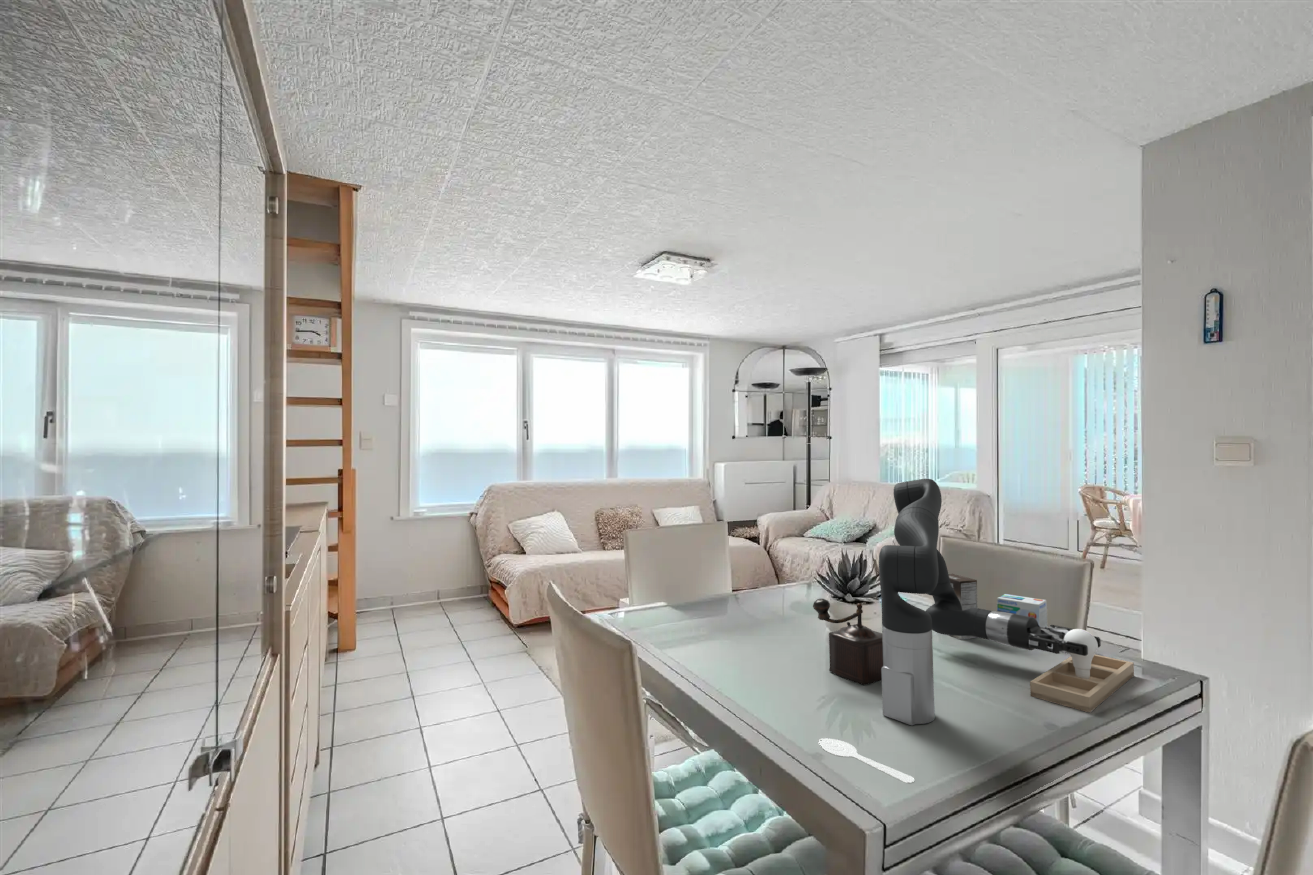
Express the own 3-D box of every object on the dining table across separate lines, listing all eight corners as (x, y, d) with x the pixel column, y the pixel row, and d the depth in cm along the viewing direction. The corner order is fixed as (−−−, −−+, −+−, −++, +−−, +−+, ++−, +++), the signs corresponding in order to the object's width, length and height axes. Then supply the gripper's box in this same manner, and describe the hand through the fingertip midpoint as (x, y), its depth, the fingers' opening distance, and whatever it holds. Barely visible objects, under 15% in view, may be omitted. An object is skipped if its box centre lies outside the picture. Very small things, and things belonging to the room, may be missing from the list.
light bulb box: (996, 636, 165) (995, 597, 165) (1005, 631, 169) (1004, 593, 170) (1041, 645, 157) (1039, 604, 157) (1048, 639, 161) (1047, 599, 162)
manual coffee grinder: (856, 662, 147) (854, 589, 147) (894, 676, 137) (892, 598, 138) (810, 675, 139) (808, 598, 139) (848, 691, 129) (845, 608, 130)
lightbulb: (1106, 685, 126) (1102, 633, 127) (1074, 684, 128) (1070, 631, 129) (1091, 676, 132) (1088, 626, 133) (1061, 675, 134) (1057, 625, 135)
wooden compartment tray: (1089, 712, 117) (1089, 697, 117) (1030, 696, 125) (1029, 681, 125) (1134, 675, 135) (1133, 662, 135) (1079, 663, 143) (1079, 650, 143)
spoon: (904, 790, 92) (904, 786, 92) (810, 745, 106) (810, 742, 106) (922, 778, 95) (922, 774, 95) (828, 736, 110) (828, 733, 110)
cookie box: (936, 630, 171) (934, 574, 171) (954, 628, 173) (952, 572, 173) (961, 640, 162) (959, 580, 162) (979, 637, 164) (977, 579, 164)
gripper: (998, 619, 137) (1081, 635, 124) (1023, 608, 146) (1104, 622, 133) (999, 652, 137) (1083, 672, 124) (1024, 639, 146) (1105, 656, 133)
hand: (1093, 646), depth 128 cm, fingers open, 7 cm apart
